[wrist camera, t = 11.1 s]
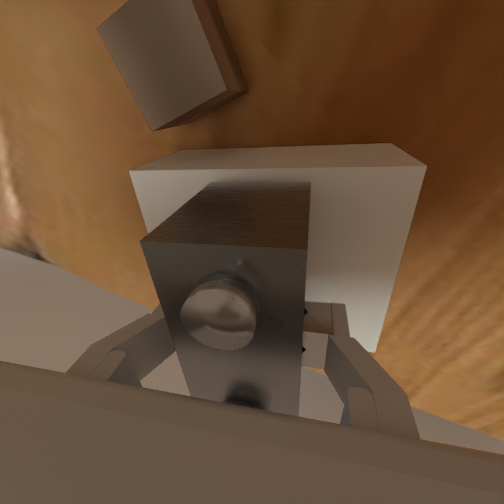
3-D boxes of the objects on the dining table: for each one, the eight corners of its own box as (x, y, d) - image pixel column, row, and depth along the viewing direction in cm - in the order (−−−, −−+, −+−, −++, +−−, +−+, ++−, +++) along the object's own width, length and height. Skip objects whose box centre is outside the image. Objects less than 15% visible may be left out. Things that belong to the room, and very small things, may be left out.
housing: (302, 343, 14) (295, 472, 9) (232, 335, 15) (193, 449, 10) (311, 181, 10) (306, 271, 5) (210, 182, 10) (118, 258, 6)
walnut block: (214, -2, 12) (175, -40, 9) (248, 91, 14) (227, 89, 10) (150, 44, 13) (96, 28, 10) (188, 123, 15) (152, 131, 12)
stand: (390, 143, 13) (427, 166, 9) (361, 291, 18) (375, 352, 14) (179, 150, 16) (128, 170, 12) (205, 279, 21) (176, 327, 17)
